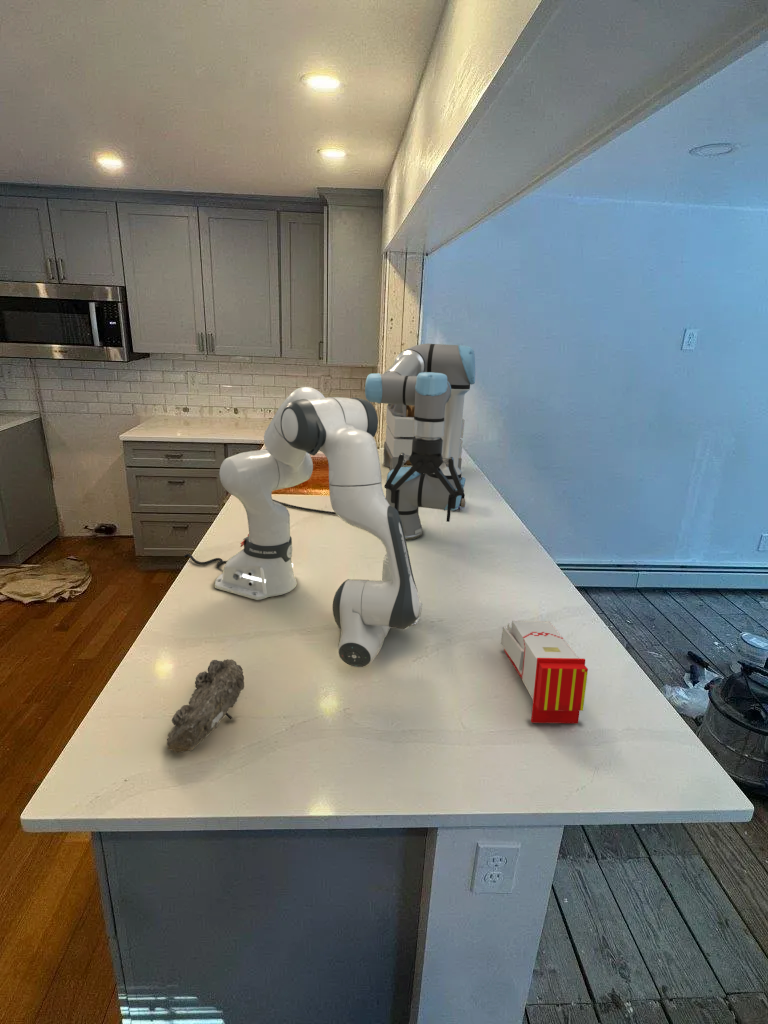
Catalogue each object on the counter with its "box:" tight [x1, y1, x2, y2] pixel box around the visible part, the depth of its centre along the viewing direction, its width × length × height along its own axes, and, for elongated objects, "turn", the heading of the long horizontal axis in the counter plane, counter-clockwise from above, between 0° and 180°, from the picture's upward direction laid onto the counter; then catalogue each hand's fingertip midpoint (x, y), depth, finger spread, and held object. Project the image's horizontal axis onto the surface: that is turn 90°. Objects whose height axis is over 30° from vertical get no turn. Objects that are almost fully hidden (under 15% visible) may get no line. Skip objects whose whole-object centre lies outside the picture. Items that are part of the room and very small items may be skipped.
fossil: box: [166, 658, 245, 754], centre depth 106 cm, size 22×10×15 cm
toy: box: [500, 620, 589, 724], centre depth 121 cm, size 12×13×30 cm
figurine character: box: [457, 493, 466, 511], centre depth 229 cm, size 7×8×15 cm
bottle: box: [381, 553, 392, 581], centre depth 149 cm, size 5×5×19 cm
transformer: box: [383, 404, 465, 472], centre depth 268 cm, size 34×33×41 cm
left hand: (387, 592), depth 146 cm, fingers open, 8 cm apart
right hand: (422, 517), depth 147 cm, fingers open, 13 cm apart
